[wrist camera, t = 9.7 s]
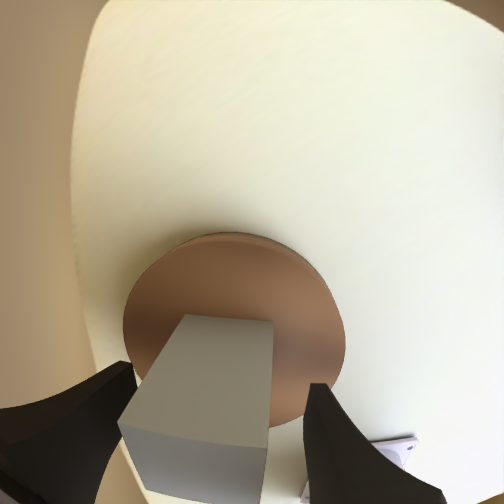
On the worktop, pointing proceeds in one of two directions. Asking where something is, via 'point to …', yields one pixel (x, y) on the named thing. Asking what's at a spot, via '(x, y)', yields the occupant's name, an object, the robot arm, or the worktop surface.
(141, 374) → the plinth
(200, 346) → the block
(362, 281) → the worktop surface
